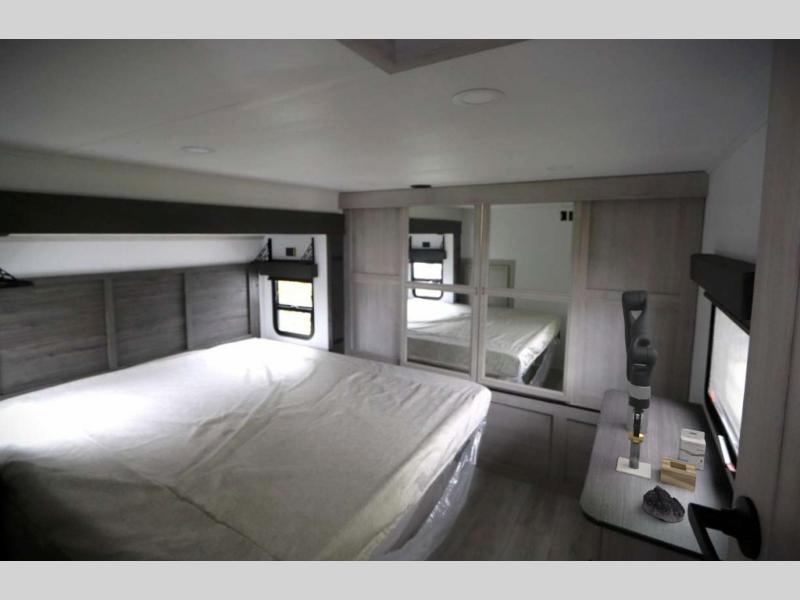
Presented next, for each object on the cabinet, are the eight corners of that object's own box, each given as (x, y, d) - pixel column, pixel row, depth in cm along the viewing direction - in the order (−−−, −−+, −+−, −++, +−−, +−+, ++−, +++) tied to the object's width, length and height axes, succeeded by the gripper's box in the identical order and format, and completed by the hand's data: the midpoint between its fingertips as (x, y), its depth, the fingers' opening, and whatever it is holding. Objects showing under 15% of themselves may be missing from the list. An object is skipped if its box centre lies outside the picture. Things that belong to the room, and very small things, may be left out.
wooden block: (660, 469, 171) (661, 456, 170) (693, 477, 165) (694, 463, 165) (660, 482, 162) (661, 468, 161) (694, 491, 156) (696, 476, 155)
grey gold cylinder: (626, 462, 176) (629, 428, 174) (641, 465, 173) (644, 431, 171) (625, 468, 172) (628, 433, 170) (641, 471, 169) (643, 437, 167)
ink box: (678, 465, 175) (681, 432, 173) (677, 460, 179) (680, 427, 177) (703, 470, 170) (706, 437, 168) (702, 465, 174) (705, 432, 172)
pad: (618, 458, 181) (618, 456, 181) (650, 465, 174) (651, 464, 174) (616, 470, 171) (616, 469, 171) (650, 479, 164) (650, 478, 164)
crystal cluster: (676, 504, 150) (675, 477, 150) (693, 526, 137) (692, 496, 137) (635, 502, 153) (634, 475, 153) (649, 523, 140) (647, 494, 140)
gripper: (630, 387, 176) (627, 423, 178) (627, 398, 164) (625, 437, 166) (650, 391, 172) (647, 427, 174) (649, 402, 160) (646, 442, 162)
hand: (636, 432), depth 170 cm, fingers open, 8 cm apart
